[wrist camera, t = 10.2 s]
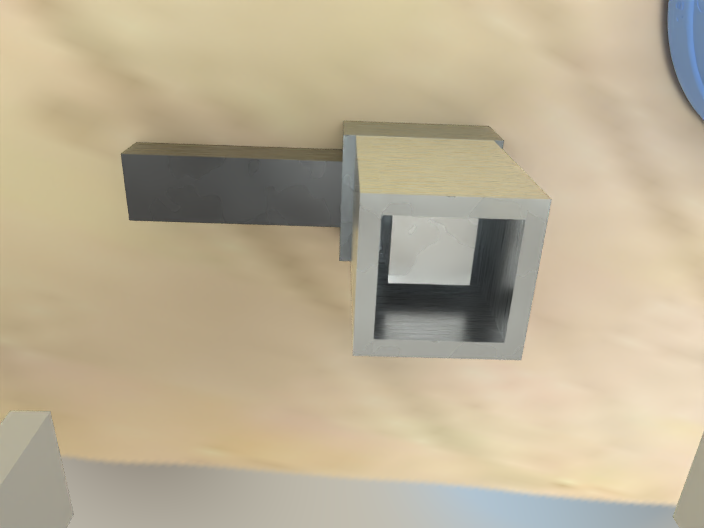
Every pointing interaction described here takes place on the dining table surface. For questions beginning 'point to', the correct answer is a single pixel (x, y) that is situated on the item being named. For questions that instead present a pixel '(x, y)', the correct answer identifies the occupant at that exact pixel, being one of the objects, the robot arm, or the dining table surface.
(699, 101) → the water jug
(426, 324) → the socket
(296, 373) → the dining table surface
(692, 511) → the robot arm
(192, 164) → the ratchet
